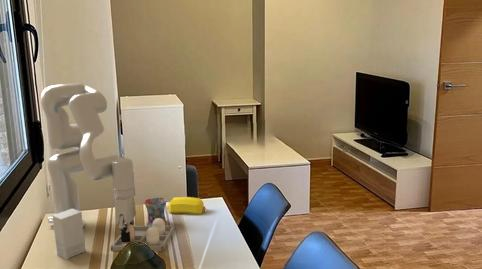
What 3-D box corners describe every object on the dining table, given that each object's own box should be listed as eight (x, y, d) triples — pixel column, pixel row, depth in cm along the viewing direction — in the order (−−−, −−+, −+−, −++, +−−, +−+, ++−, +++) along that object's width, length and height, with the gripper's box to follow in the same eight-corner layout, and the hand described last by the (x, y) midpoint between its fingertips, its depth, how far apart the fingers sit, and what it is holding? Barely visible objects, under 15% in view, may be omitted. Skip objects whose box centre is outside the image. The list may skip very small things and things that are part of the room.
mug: (164, 230, 187) (162, 205, 185) (142, 229, 189) (140, 204, 187) (172, 219, 199) (171, 195, 197) (152, 218, 200) (150, 195, 198)
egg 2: (151, 237, 179) (150, 220, 178) (154, 232, 184) (153, 216, 183) (163, 237, 179) (162, 220, 178) (166, 232, 184) (165, 216, 182)
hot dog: (203, 216, 202) (208, 210, 209) (203, 201, 200) (207, 195, 208) (164, 214, 205) (170, 208, 212) (163, 200, 204) (169, 194, 211)
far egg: (145, 247, 170) (143, 230, 169) (148, 242, 175) (147, 225, 173) (157, 247, 170) (156, 230, 168) (161, 242, 174) (159, 225, 173)
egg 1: (120, 243, 170) (118, 226, 169) (124, 238, 175) (123, 221, 174) (133, 243, 170) (131, 226, 169) (136, 238, 175) (135, 221, 174)
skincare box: (77, 247, 174) (72, 207, 171) (86, 251, 169) (82, 211, 166) (56, 255, 167) (51, 214, 164) (65, 260, 163) (61, 218, 160)
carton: (111, 252, 168) (110, 246, 168) (127, 230, 187) (127, 225, 187) (163, 252, 167) (163, 246, 167) (174, 230, 186) (174, 225, 186)
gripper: (122, 185, 178) (125, 230, 181) (106, 200, 161) (110, 248, 164) (141, 185, 177) (144, 230, 181) (127, 199, 160) (131, 248, 164)
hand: (128, 238), depth 172 cm, fingers closed on egg 1, 4 cm apart
